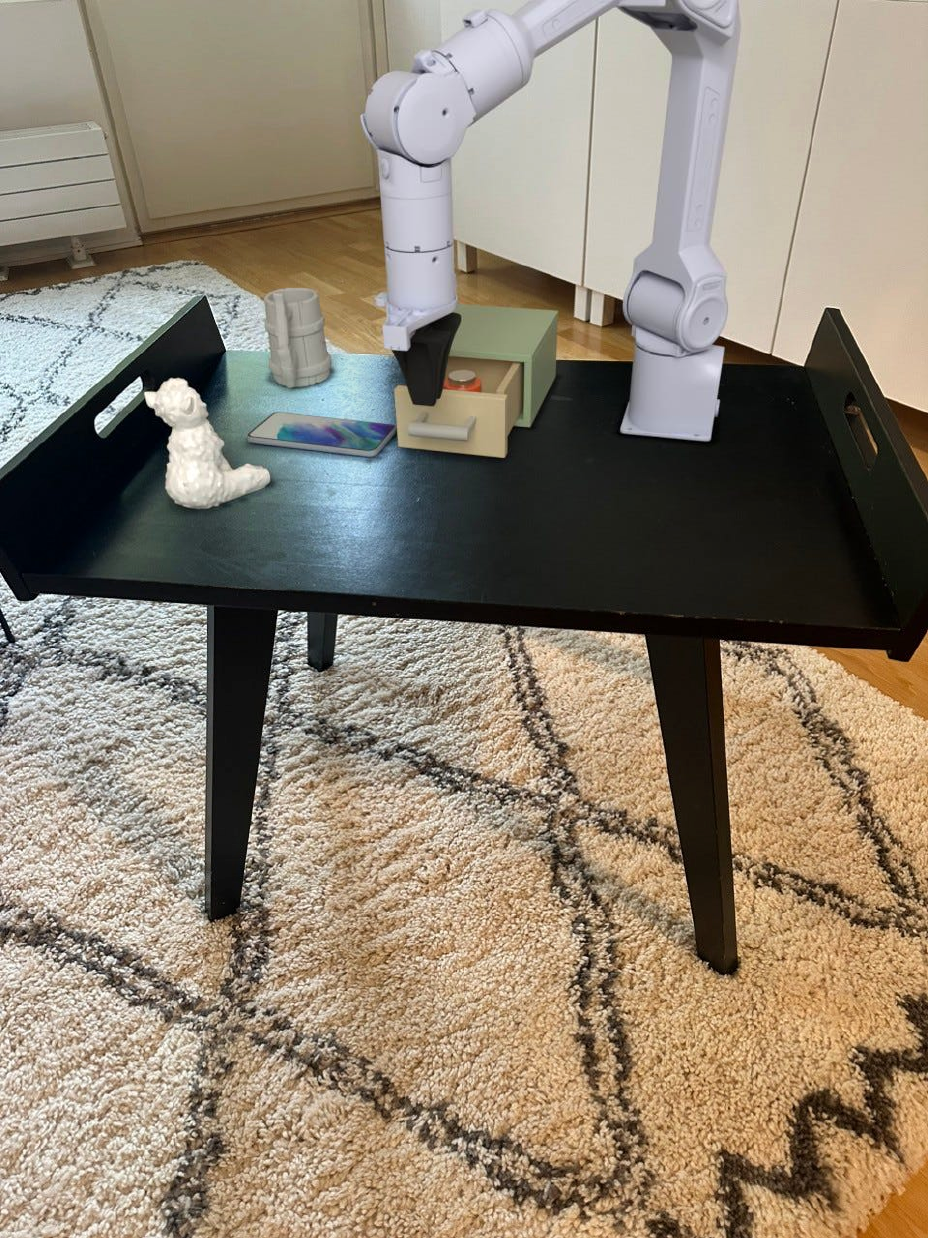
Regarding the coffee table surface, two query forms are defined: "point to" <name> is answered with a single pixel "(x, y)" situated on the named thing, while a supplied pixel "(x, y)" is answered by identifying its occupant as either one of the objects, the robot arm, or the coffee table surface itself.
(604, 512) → the coffee table surface
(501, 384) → the drawer
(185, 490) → the white creature statuette
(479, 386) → the orange cylinder
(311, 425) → the smartphone
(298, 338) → the mug
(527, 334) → the cabinet
